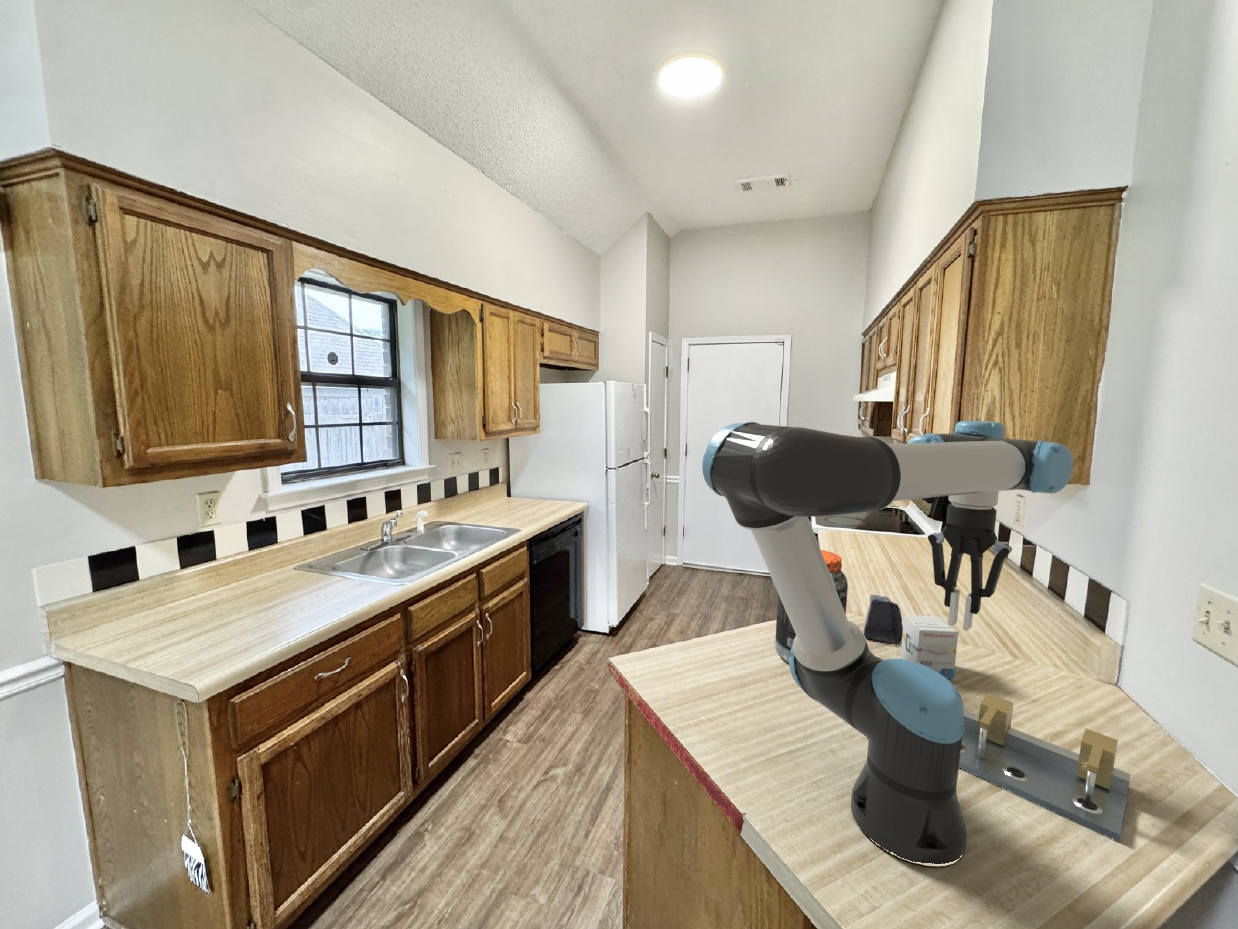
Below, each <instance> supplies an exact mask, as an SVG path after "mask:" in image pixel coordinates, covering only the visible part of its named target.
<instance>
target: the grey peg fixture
mask: <svg viewBox="0 0 1238 929" xmlns="http://www.w3.org/2000/svg"><path fill="white" fill-rule="evenodd" d="M978 722H979V714H977V713H975V712H972V711H969V710H968V709H964V724H965V725H964V727H965V729H964V733H963V736H962V744H961V752H960V761H959V768H961V769H960V770H962V769H963V770H962V771H964V770H965V771H964V772H966V771H968V772H970V773H973V774H975V775H977V776H978V777H977V776H976V777H977V778H979V777H981V778H983V779H985V780H988V781H989V782H988V783H990V782H992V783H993V784H992V783H991V784H992V785H994V784H996V785H998V786H1000V787H1003V788H1004V789H1003V788H1002V789H1003V790H1005V789H1006V790H1005V791H1007V790H1009V791H1011V792H1013V793H1014V795H1015V794H1017V795H1016V796H1018V795H1019V796H1018V797H1020V796H1021V797H1020V798H1022V797H1024V798H1026V799H1027V801H1028V800H1029V802H1031V801H1033V802H1034V803H1033V802H1032V803H1033V804H1035V803H1037V804H1040V805H1041V806H1043V807H1045V808H1044V809H1046V808H1047V809H1046V810H1048V809H1049V811H1050V812H1052V811H1054V812H1056V813H1057V815H1059V814H1060V815H1059V816H1061V817H1063V818H1065V819H1067V818H1068V820H1069V821H1072V822H1074V823H1076V822H1077V823H1076V824H1078V825H1080V826H1082V825H1084V826H1085V827H1084V826H1083V827H1084V828H1087V827H1088V828H1087V829H1089V828H1090V829H1089V830H1091V829H1092V830H1091V831H1093V830H1094V831H1093V832H1095V831H1096V833H1097V832H1099V833H1098V834H1100V833H1101V834H1100V835H1102V834H1103V835H1102V836H1104V835H1106V836H1108V837H1110V838H1113V839H1114V840H1113V841H1115V840H1116V841H1115V842H1117V841H1118V842H1117V843H1120V840H1121V839H1120V838H1121V832H1122V829H1121V828H1123V823H1124V815H1125V811H1126V805H1127V800H1128V793H1129V787H1130V780H1131V773H1129V772H1126V771H1123V770H1121V769H1119V768H1116V767H1115V762H1116V755H1117V750H1118V749H1117V748H1118V742H1119V740H1118V739H1116V738H1113V737H1110V736H1108V735H1104V734H1102V733H1099V732H1096V731H1094V730H1091V729H1088V728H1084V729H1085V730H1084V731H1083V732H1084V733H1083V734H1082V735H1083V736H1082V738H1081V743H1080V749H1079V753H1078V752H1075V751H1072V750H1070V749H1066V748H1065V747H1061V746H1059V745H1057V744H1054V743H1052V742H1049V741H1046V740H1045V739H1044V740H1043V739H1041V738H1038V737H1036V736H1034V735H1032V734H1028V733H1026V732H1023V731H1021V730H1018V729H1015V728H1013V727H1012V726H1011V727H1008V729H1007V731H1006V736H1005V743H1004V745H1000V744H998V743H995V742H993V741H991V740H988V739H986V746H985V755H984V756H979V755H978V744H979V735H977V731H978ZM968 772H967V773H968ZM970 773H969V774H970ZM975 775H974V776H975ZM981 778H980V779H981ZM983 779H982V780H983ZM985 780H984V781H985ZM996 785H995V786H996ZM998 786H997V787H998ZM1000 787H999V788H1000ZM1009 791H1008V792H1009ZM1011 792H1010V793H1011ZM1013 793H1012V794H1013ZM1024 798H1023V799H1024ZM1026 799H1025V800H1026ZM1037 804H1036V805H1037ZM1041 806H1040V807H1041ZM1043 807H1042V808H1043ZM1054 812H1053V813H1054ZM1056 813H1055V814H1056ZM1106 836H1105V837H1106ZM1108 837H1107V838H1108ZM1110 838H1109V839H1110Z"/></svg>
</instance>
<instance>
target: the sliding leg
mask: <svg viewBox="0 0 1238 929" xmlns="http://www.w3.org/2000/svg"><path fill="white" fill-rule="evenodd" d="M979 706H980V707H979V714H978V715H979V722H978V731H977V735H979V744H978V755H979V756H984V755H985V746H986V739H988V740H991V741H993V742H995V743H998V744H1000V745H1004V743H1005V736H1006V731H1007V729H1008V727H1011V728H1012V720H1013V719H1012V717H1013V712H1014V711H1013V710H1014V702H1013V701H1010V700H1008V699H1005V698H1002V697H999V696H996V695H993V694H991V693H987V694H986V695H985V697H984V698H983V700H982V701H981V702H980V704H979Z"/></svg>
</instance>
